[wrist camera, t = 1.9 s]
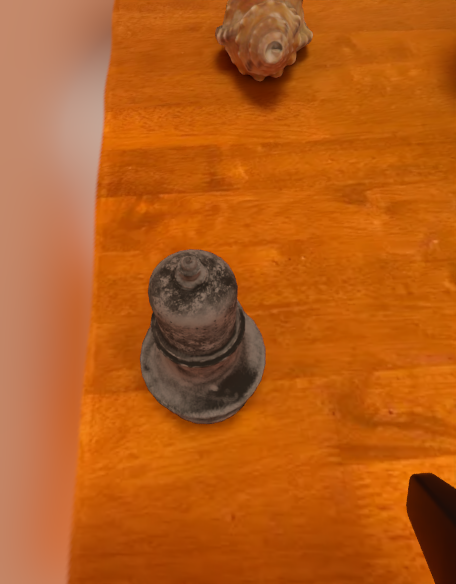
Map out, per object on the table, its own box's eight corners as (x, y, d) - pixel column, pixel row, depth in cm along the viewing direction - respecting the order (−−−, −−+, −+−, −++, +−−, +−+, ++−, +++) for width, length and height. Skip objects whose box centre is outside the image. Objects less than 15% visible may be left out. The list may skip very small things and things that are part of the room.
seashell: (319, 102, 36) (348, 37, 26) (234, 126, 37) (231, 71, 27) (294, 3, 36) (313, -101, 26) (209, 29, 36) (196, -64, 27)
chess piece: (167, 316, 23) (117, 166, 12) (266, 333, 23) (303, 192, 12) (139, 418, 21) (47, 339, 10) (251, 439, 20) (281, 380, 9)
